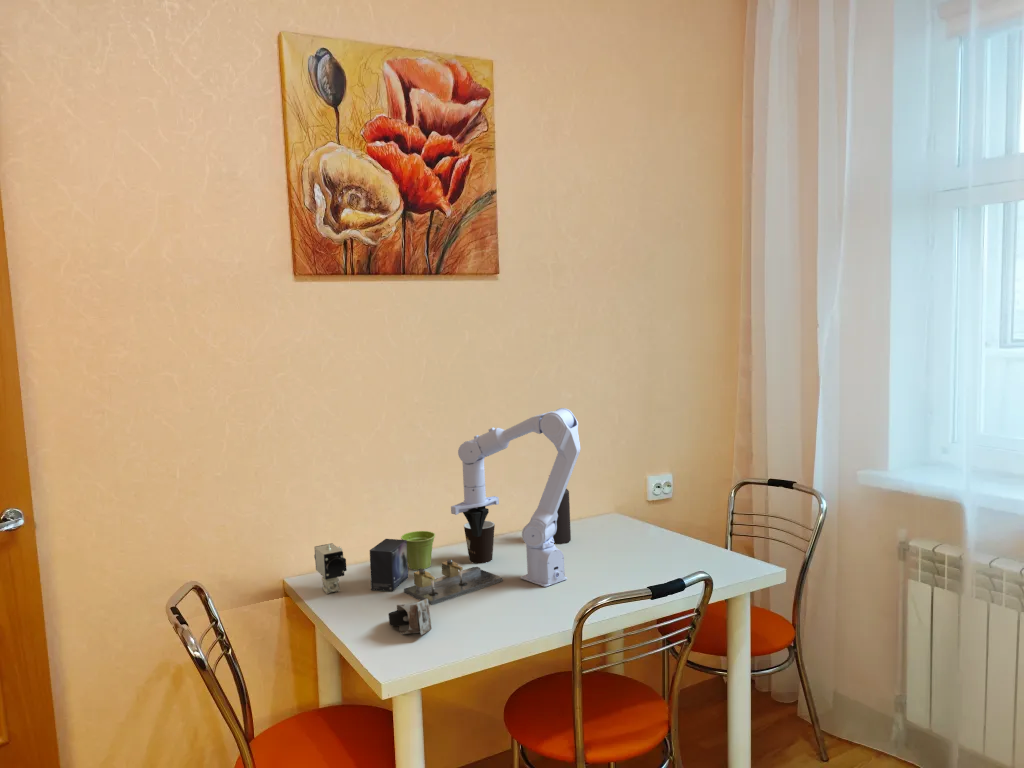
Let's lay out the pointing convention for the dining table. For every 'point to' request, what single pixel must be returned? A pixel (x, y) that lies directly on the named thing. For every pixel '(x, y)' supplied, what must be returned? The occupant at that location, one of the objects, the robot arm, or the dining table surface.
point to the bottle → (563, 521)
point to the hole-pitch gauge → (449, 584)
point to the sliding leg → (451, 569)
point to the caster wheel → (412, 617)
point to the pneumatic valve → (330, 565)
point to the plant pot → (419, 548)
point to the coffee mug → (480, 543)
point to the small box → (388, 564)
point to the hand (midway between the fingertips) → (476, 535)
